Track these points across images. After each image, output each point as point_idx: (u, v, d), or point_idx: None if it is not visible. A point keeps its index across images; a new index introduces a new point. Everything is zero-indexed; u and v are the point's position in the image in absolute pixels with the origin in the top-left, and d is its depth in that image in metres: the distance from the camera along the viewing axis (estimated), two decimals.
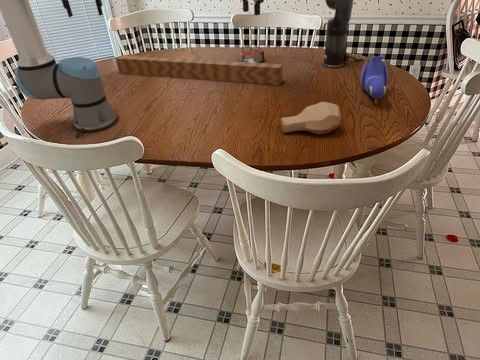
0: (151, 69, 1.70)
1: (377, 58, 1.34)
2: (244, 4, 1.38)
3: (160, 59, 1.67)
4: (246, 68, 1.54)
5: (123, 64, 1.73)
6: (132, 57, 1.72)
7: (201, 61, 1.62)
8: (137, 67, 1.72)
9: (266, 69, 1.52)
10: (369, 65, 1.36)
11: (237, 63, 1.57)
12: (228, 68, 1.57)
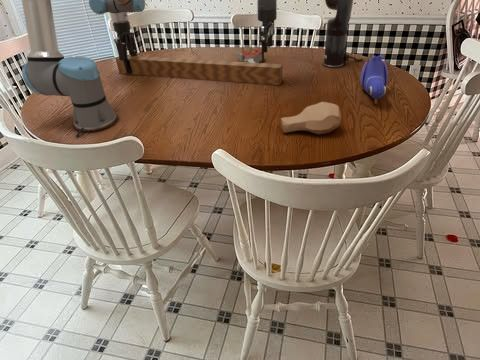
0: (151, 69, 1.70)
1: (377, 58, 1.34)
2: (268, 39, 1.50)
3: (160, 59, 1.67)
4: (246, 68, 1.54)
5: (123, 64, 1.73)
6: (132, 57, 1.72)
7: (201, 61, 1.62)
8: (137, 67, 1.72)
9: (266, 69, 1.52)
10: (369, 65, 1.36)
11: (237, 63, 1.57)
12: (228, 68, 1.57)
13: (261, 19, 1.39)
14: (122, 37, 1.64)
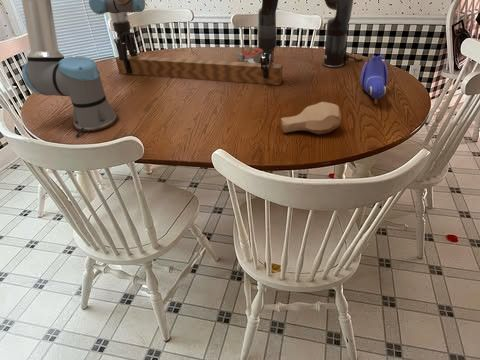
0: (151, 69, 1.70)
1: (377, 58, 1.34)
2: None
3: (160, 59, 1.67)
4: (246, 68, 1.54)
5: (123, 64, 1.73)
6: (132, 57, 1.72)
7: (201, 61, 1.62)
8: (137, 67, 1.72)
9: None
10: (369, 65, 1.36)
11: (237, 63, 1.57)
12: (228, 68, 1.57)
13: (261, 47, 1.46)
14: (122, 37, 1.64)
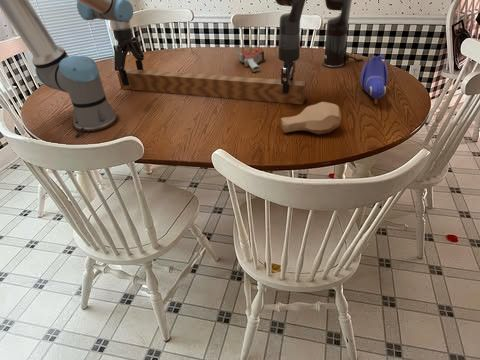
0: (156, 84, 1.52)
1: (377, 58, 1.34)
2: None
3: (167, 74, 1.50)
4: (264, 85, 1.37)
5: None
6: (135, 71, 1.55)
7: (213, 77, 1.44)
8: (141, 82, 1.54)
9: None
10: (369, 65, 1.36)
11: (254, 79, 1.40)
12: (243, 85, 1.40)
13: (283, 59, 1.27)
14: (123, 46, 1.46)
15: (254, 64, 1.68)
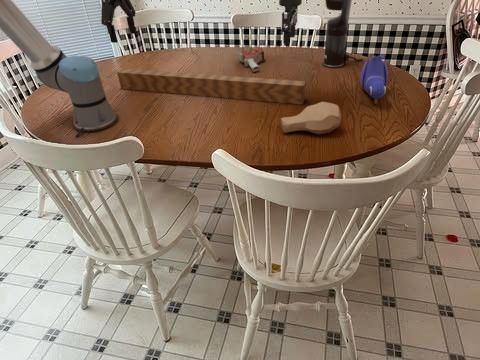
0: (156, 84, 1.52)
1: (377, 58, 1.34)
2: None
3: (167, 74, 1.50)
4: (264, 85, 1.37)
5: (125, 79, 1.56)
6: (135, 71, 1.55)
7: (213, 77, 1.44)
8: (141, 82, 1.54)
9: (287, 87, 1.34)
10: (369, 65, 1.36)
11: (254, 79, 1.40)
12: (243, 85, 1.40)
13: (284, 4, 1.17)
14: None
15: (254, 64, 1.68)
